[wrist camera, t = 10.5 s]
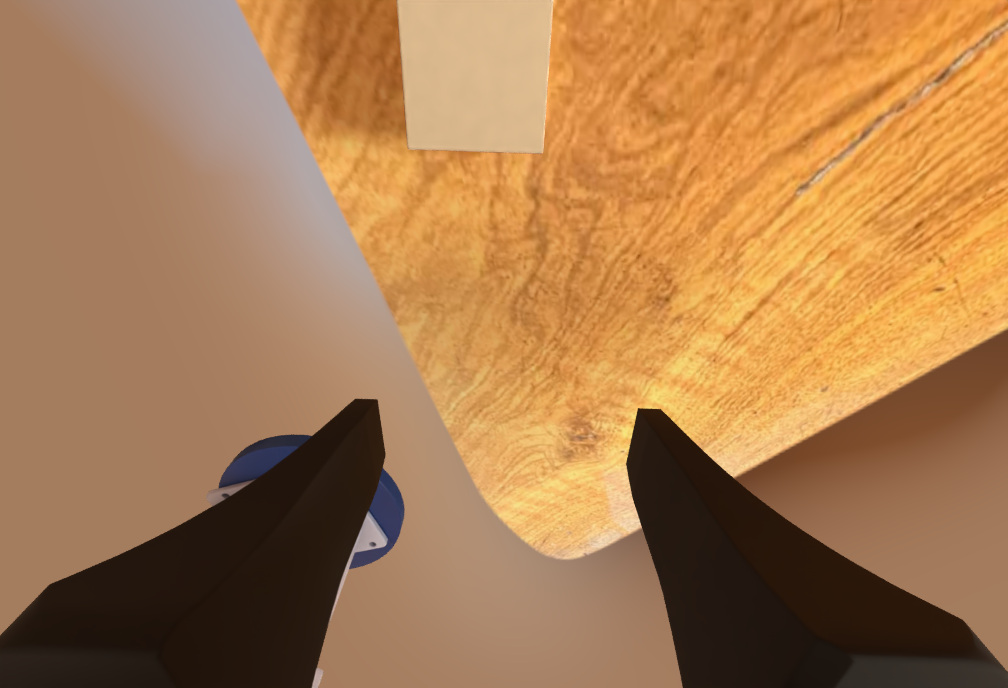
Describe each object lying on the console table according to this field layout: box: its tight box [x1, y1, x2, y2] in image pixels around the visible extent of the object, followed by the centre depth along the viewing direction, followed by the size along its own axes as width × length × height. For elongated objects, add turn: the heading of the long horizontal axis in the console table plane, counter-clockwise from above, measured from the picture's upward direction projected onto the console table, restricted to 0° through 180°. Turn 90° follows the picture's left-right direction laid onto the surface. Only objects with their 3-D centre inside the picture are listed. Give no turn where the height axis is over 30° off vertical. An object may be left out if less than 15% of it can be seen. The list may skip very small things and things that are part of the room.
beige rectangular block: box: [397, 0, 553, 154], centre depth 14 cm, size 6×4×4 cm
